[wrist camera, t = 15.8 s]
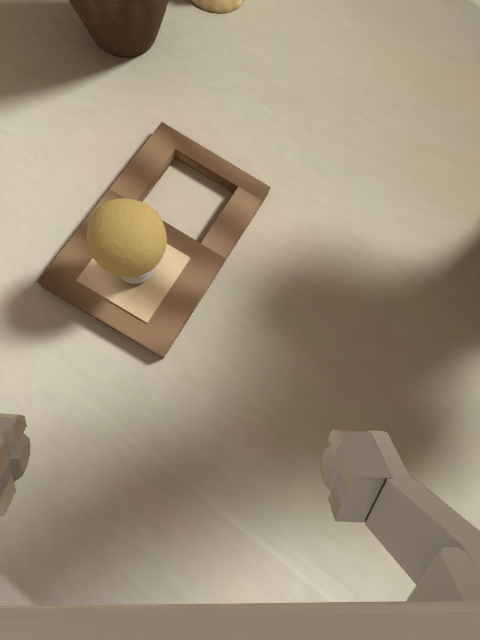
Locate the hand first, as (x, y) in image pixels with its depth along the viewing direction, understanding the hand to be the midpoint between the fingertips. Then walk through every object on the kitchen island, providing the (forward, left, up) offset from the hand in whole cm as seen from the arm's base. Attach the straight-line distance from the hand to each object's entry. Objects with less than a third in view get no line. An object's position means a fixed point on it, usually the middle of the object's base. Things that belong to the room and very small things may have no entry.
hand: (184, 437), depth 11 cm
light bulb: (-11, -12, -28) cm, 32 cm away
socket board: (-15, -12, -29) cm, 35 cm away
